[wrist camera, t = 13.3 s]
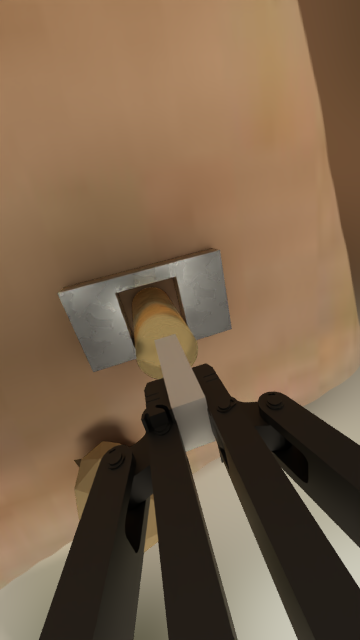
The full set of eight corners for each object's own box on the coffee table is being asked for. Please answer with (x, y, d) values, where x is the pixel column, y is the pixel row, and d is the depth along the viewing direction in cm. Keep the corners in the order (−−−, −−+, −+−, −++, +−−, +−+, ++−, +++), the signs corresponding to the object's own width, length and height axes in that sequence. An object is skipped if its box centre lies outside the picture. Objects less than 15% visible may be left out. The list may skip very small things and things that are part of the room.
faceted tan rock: (164, 483, 38) (206, 469, 31) (134, 578, 29) (182, 589, 22) (86, 434, 36) (111, 407, 29) (30, 520, 28) (46, 512, 20)
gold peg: (138, 328, 27) (146, 387, 17) (126, 293, 25) (127, 335, 15) (174, 318, 28) (202, 368, 17) (165, 282, 26) (191, 316, 16)
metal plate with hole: (95, 360, 27) (93, 372, 25) (63, 287, 24) (57, 293, 21) (223, 321, 29) (231, 328, 27) (211, 248, 25) (219, 249, 23)
